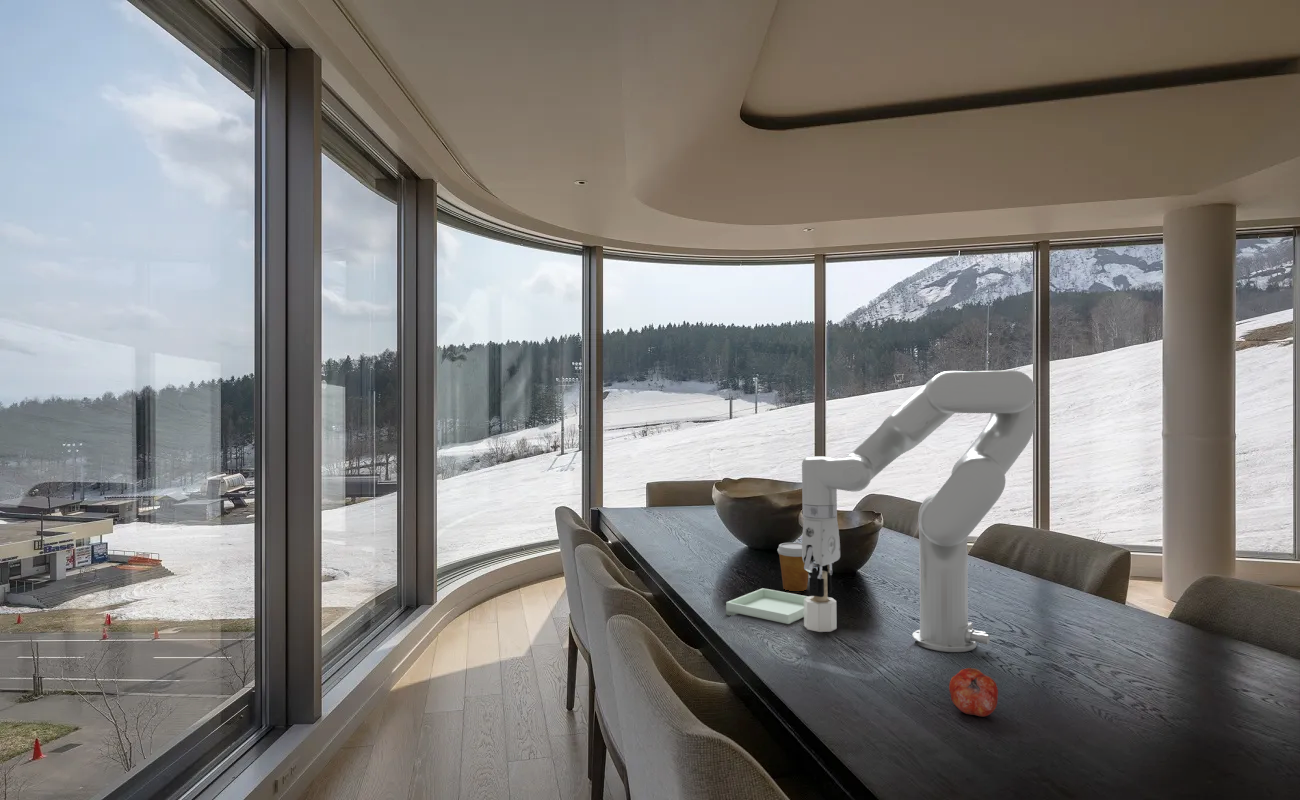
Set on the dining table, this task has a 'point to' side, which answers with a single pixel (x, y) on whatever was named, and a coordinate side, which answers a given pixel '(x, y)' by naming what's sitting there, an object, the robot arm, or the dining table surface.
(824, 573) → the wooden pin
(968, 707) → the red tomato
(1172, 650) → the dining table surface
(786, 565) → the disposable coffee cup
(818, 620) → the cup holder
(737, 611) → the tray
